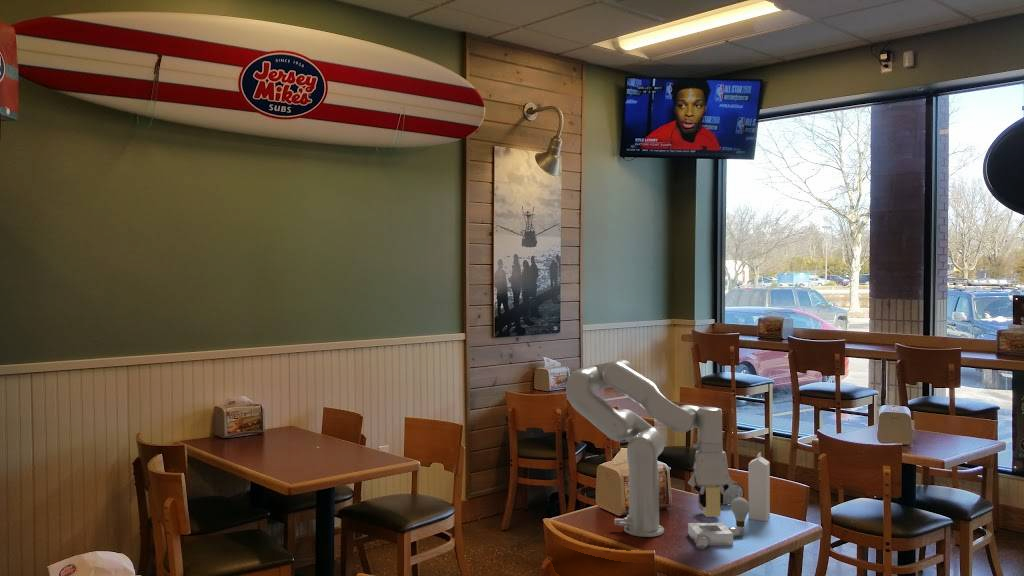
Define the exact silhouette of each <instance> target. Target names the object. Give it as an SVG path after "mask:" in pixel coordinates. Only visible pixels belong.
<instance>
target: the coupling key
mask: <svg viewBox="0 0 1024 576" xmlns="http://www.w3.org/2000/svg"><path fill="white" fill-rule="evenodd" d="M704 494H705V503H706V507H703V506H702V510H703V511H702V510H701V511H702V514H703V515H704V516H705V517H707V518H708V517H709V518H712V517H715V518H716V517H721V508H720V487H719V486H718V485H705V490H704Z"/></svg>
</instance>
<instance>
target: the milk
mask: <svg viewBox="0 0 1024 576" xmlns="http://www.w3.org/2000/svg"><path fill="white" fill-rule="evenodd" d="M770 464H771V462H770V461H769V460H768V459H766V458H764V457H762V452H759V453H758V454H757V455H756V457H755V458H754V459H752V460H751V461H749V463H748V467H747V468H748V479H747V480H748V483H747V484H748V487H747V489H748V503H749V506H750V510H749V512H748V520H753V521H760V522H761V521H762V522H768V520H769V519H770V517H771V515H770V514H771V513H770V512H771V510H770V509H771V508H770V506H771V503H770V502H771V501H770V500H771V497H770V496H771V495H770V494H771V493H770V492H771V487H770V485H771V482H770V480H771V479H770V478H771V477H770V476H771V474H770V473H771V472H770V471H771V470H770V468H771V467H770V466H771V465H770ZM768 518H769V519H768Z"/></svg>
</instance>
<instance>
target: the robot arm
mask: <svg viewBox="0 0 1024 576" xmlns="http://www.w3.org/2000/svg"><path fill="white" fill-rule="evenodd" d="M608 388H613V390H615V391H617V392H619V393H621V394H622V395H624V396H625V397H626V398H628V399H630V400H631V401H633V402H635V404H636V403H637V404H638V405H639V406H640V407H641V408H642V409H643V410H644V411H645V412H646V413H647V414H648V415H650V417H652V418H653V419H654V420H656V421H657V422H659V423H660V424H662V425H664V426H665V427H667V428H668V429H670V430H672V431H674V432H676V433H680V434H684V433H688V432H689V431H691V430H692V429H694V428H696V429H697V441H696V443H693V449H697V450H695V454H694V461H693V462H694V463H693V474H692V475H691V477H690V478H689V480H688V481H687V484H688V485H689V486H690V487H692V488H693V489H694V490H696V491H697V492H698V493H699V503H700V504H701V505H702V506H703V507H706V503H705V494H704V490H705V485H718V486H719V487H720V507H721V508H722V507H723V505H722V503H723V494H724V492H725V491H726V490H727V489H728V487H730V486H731V485H732V484H734V481H735V480H733V478H732V477H731V476H730V475H729V465H728V458H727V453H726V451H724V449H723V447H724V446H723V445H724V444H723V412H722V410H721V409H720V408H719V407H715V406H703V407H702V406H696V405H691V404H684V405H681V406H678V405H677V404H675V403H674V402H672V401H670V400H669V399H668V398H667V397H665V396H664V395H663V394H662V393H661V391H659V388H658V387H657V385H656V383H655V382H653V380H650V379H649V378H647V377H645V376H644V375H642V374H641V373H639V372H637V371H636V370H635V368H634V366H633V364H632V363H631V362H629V361H628V360H626V359H617V360H614V361H610V362H604V363H600V364H599V363H598V364H594V365H588V366H586V367H582V368H579V369H577V370H574V371H573V372H571V374H570V375H569V376H568V378H567V380H566V384H565V391H566V397H567V399H568V402H569V404H570V405H571V407H572V408H573V409H574V410H575V411H576V412H577V413H578V414H580V415H581V416H582V417H584V418H585V419H587V421H589V423H591V424H592V425H593V426H594V427H595V428H597V429H598V430H599V431H600V432H602V433H603V434H604V435H606V437H608V439H610V440H612V441H614V442H622V441H624V440H625V441H626V442H627V443H628V444H627V448H626V457H627V466H628V514H627V515H626V517H624V518H614V520H613V521H614V522H613V523H614V525H617V526H620V527H624V528H623V530H624V533H626V534H629V535H631V536H635V537H642V538H644V537H645V538H651V537H652V538H653V537H658V536H659V537H660V536H662V535H663V534H664V533H665V528H664V526H662V525H660V486H659V485H660V484H659V483H660V479H659V477H660V476H659V475H660V474H659V473H660V472H659V464H658V457H659V456H660V455H661V454H662V452H663V451H664V449H665V443H666V442H665V439H664V436H663V435H662V433H661V432H660V431H659V430H658V429H656V428H655V427H654V426H653V425H651V424H650V423H649V422H647V421H646V420H645V419H644V418H642V417H641V416H640V415H638V414H637V413H635V412H634V411H633V410H631V409H628V408H627V409H626V408H620V409H616V408H614V407H613V406H612V405H610V404H609V403H608V402H607V401H606V400H604V399H603V398H601V397H600V396H599V395H597V394H596V393H594V392H595V391H598V390H602V389H603V390H604V389H608Z"/></svg>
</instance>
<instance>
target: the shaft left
mask: <svg viewBox="0 0 1024 576" xmlns="http://www.w3.org/2000/svg"><path fill="white" fill-rule="evenodd" d="M710 541H711V540H710V538H709V537H708V536H702V537H701V538H700V539H699V540H698V541H697V542H696V543H695V547H696V548H697V549H698V550H699V549H701V550H700V551H704V550H705V549H706V548H707V547H709V546H710V545H709V543H710Z"/></svg>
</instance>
